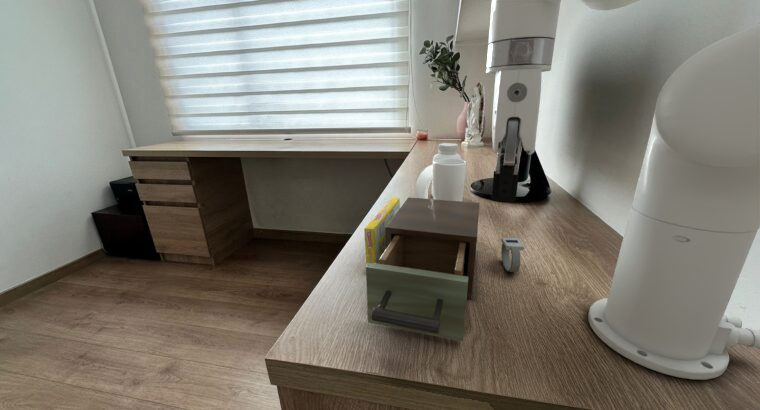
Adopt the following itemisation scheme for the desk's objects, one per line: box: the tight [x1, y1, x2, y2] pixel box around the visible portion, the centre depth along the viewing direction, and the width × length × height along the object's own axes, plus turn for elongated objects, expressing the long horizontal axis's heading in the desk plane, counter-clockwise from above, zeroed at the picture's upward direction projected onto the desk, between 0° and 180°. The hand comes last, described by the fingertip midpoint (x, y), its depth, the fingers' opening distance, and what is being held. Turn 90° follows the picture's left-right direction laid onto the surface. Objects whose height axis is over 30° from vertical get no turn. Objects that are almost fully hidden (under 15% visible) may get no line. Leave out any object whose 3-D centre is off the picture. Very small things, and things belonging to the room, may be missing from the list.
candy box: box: [363, 197, 401, 266], centre depth 58 cm, size 16×2×8 cm, turn 162°
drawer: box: [365, 234, 468, 342], centre depth 41 cm, size 18×12×8 cm, turn 162°
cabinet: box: [385, 196, 480, 300], centre depth 52 cm, size 15×13×10 cm
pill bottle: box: [431, 142, 463, 197], centre depth 89 cm, size 8×8×15 cm
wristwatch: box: [500, 237, 525, 273], centre depth 52 cm, size 6×3×5 cm, turn 174°
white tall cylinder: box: [431, 159, 467, 202], centre depth 67 cm, size 7×7×15 cm
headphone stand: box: [414, 163, 433, 199], centre depth 77 cm, size 5×6×12 cm
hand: (503, 199), depth 45 cm, fingers closed
